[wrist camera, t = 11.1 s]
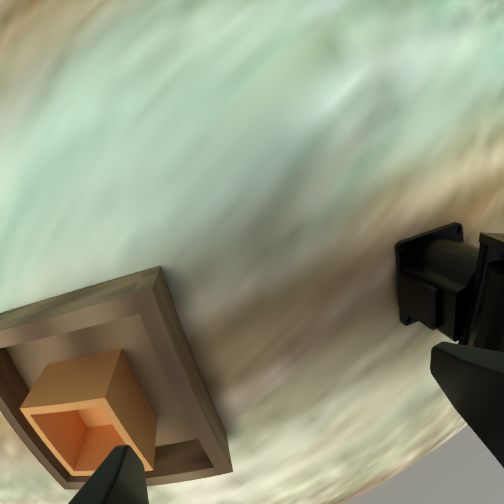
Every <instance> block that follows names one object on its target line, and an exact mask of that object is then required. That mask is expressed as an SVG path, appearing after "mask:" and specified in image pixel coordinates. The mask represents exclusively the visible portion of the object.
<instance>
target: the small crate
mask: <svg viewBox="0 0 504 504" xmlns="http://www.w3.org/2000/svg"><path fill="white" fill-rule="evenodd" d="M20 410H21V411H22V413H23V414H24V416H25V417H26V419H27V420H28V421H29V423H30V424H31V426H32V427H33V428H34V430H35V431H36V432H37V434H38V435H39V436H40V438H41V439H42V440H43V442H44V443H45V444H46V445H47V447H48V448H49V449H50V450H51V452H52V453H53V454H54V455H55V457H56V458H57V459H58V460H59V461H60V462H61V464H62V465H63V466H64V467H65V468H66V469H67V471H68V472H69V473H70V474H71V475H72V476H91V475H92V474H93V473H94V472H95V470H96V469H97V468H98V467H99V466H100V464H101V463H102V462H103V461H104V459H105V458H106V457H107V456H108V454H109V453H110V452H111V451H112V450H113V448H114V447H115V446H119V445H130V446H131V447H132V448H133V450H134V451H135V453H136V454H137V455H138V457H139V458H140V459H141V461H142V463H143V465H144V469H145V471H152V470H154V457H155V443H156V431H157V419H158V417H157V416H156V414H155V412H154V410H153V409H152V407H151V405H150V403H149V401H148V399H147V398H146V396H145V394H144V392H143V390H142V388H141V386H140V384H139V382H138V380H137V378H136V377H135V375H134V373H133V371H132V368H131V366H130V364H129V362H128V360H127V358H126V356H125V354H124V352H123V350H122V348H121V349H116V350H112V351H107V352H103V353H99V354H94V355H89V356H85V357H80V358H75V359H71V360H66V361H61V362H56V363H51V364H47V365H46V367H45V368H44V370H43V371H42V373H41V375H40V376H39V378H38V379H37V381H36V382H35V384H34V386H33V387H32V389H31V390H30V392H29V394H28V395H27V397H26V399H25V400H24V402H23V404H22V405H21V407H20Z"/></svg>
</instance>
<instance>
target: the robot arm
mask: <svg viewBox="0 0 504 504" xmlns="http://www.w3.org/2000/svg"><path fill="white" fill-rule="evenodd" d="M456 229H457V231H456ZM479 242H480V247H479V248H477V247H474V246H471V245H468V244H465V243H463V227H462V225H461V224H460V223H457V222H455V223H452V224H449V225H446V226H443V227H440V228H437V229H435V230H432V231H429V232H426V233H423V234H420V235H417V236H414V237H411V238H408V239H405V240H402V241H400V242H398V243H397V245H396V249H395V251H396V261H397V272H398V274H397V287H398V303H399V307H400V321H401V323H402V324H404V325H406V326H408V325H410V324H412V323H415V322H417V321H420V322H421V323H423V324H424V325H425V326H427V327H428V328H430V329H431V330H433V331H434V330H435V329H437V330H439V331H440V332H442V333H443V334H444V335H446V336H447V337H449V338H450V339H452V340H453V341H454V342H456V341H458V340H459V342H458V344H454V343H449V342H441V343H439V344H437V345H435V346H434V347H433V348H432V350H431V362H430V371H431V374H432V375H433V377H434V378H435V380H436V381H437V383H438V384H439V386H440V387H441V389H442V390H443V392H444V393H445V395H446V396H447V398H448V399H449V401H450V402H451V404H452V405H453V406H454V408H455V409H456V410H457V412H458V413H459V414H460V415H461V416H462V418H463V419H464V420H465V421H466V422H467V424H468V425H469V426H470V427H471V428H472V430H473V431H474V432H475V433H476V434H477V436H478V437H479V438H480V439H481V440H482V442H483V443H484V444H485V445H486V446H487V448H488V449H489V450H490V451H491V453H492V454H493V455H494V456H495V457H496V459H497V460H498V461H499V463H500V464H501V465H502V466H503V468H504V234H498V233H480V237H479ZM403 246H404V250H403V251H401V250H402V247H403ZM407 317H408V319H407V320H406V318H407ZM68 504H149V501H148V493H147V486H146V477H145V469H144V465H143V463H142V461H141V459H140V458H139V457H138V455H137V454H136V453H135V451H134V450H133V448H132V447H131V446H130V445H119V446H115V447H114V448H113V450H112V451H111V452H110V453H109V454H108V456H107V457H106V458H105V459H104V461H103V462H102V463H101V464H100V466H99V467H98V468H97V469H96V470H95V472H94V473H93V474H92V475H91V477H90V478H89V479H88V480H87V481H86V483H85V484H84V485H83V486H82V488H81V489H80V490H79V491H78V492H77V494H76V495H75V496H74V497H73V499H72V500H71V501H70V502H69V503H68Z"/></svg>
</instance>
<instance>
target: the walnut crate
mask: <svg viewBox="0 0 504 504" xmlns="http://www.w3.org/2000/svg"><path fill="white" fill-rule="evenodd" d="M121 348H122V350H123V352H124V354H125V356H126V358H127V360H128V362H129V364H130V366H131V368H132V371H133V373H134V375H135V377H136V378H137V380H138V382H139V384H140V386H141V388H142V390H143V392H144V394H145V396H146V398H147V399H148V401H149V403H150V405H151V407H152V409H153V410H154V412H155V414H156V416H157V417H158V419H157V431H156V443H155V457H154V470H152V471H145V477H146V486H153V485H162V484H169V483H176V482H183V481H189V480H195V479H201V478H206V477H211V476H216V475H221V474H226V473H230V472H233V469H232V464H231V458H230V452H229V447H228V441H227V435H226V432H225V430H224V428H223V426H222V423H221V421H220V419H219V417H218V415H217V412H216V410H215V408H214V405H213V403H212V401H211V399H210V396H209V394H208V392H207V389H206V387H205V385H204V382H203V380H202V377H201V375H200V372H199V370H198V368H197V365H196V363H195V360H194V358H193V355H192V353H191V350H190V347H189V345H188V342H187V340H186V337H185V334H184V332H183V329H182V326H181V324H180V321H179V318H178V316H177V313H176V310H175V307H174V305H173V302H172V299H171V296H170V293H169V290H168V287H167V284H166V281H165V279H164V276H163V273H162V270H161V267H160V266H158V267H154V268H151V269H147V270H144V271H140V272H137V273H134V274H130V275H127V276H123V277H120V278H116V279H113V280H110V281H106V282H103V283H99V284H96V285H93V286H89V287H86V288H82V289H79V290H76V291H72V292H69V293H66V294H62V295H59V296H56V297H52V298H49V299H46V300H42V301H39V302H36V303H32V304H29V305H26V306H22V307H19V308H16V309H12V310H9V311H6V312H3V313H0V411H1V413H2V414H3V415H4V417H5V418H6V420H7V421H8V422H9V424H10V425H11V427H12V428H13V429H14V431H15V432H16V433H17V435H18V436H19V437H20V439H21V440H22V441H23V442H24V444H25V445H26V446H27V447H28V449H29V450H30V451H31V452H32V454H33V455H34V456H35V457H36V458H37V460H38V461H39V462H40V463H41V464H42V465H43V466H44V468H45V469H46V470H47V471H48V472H49V473H50V474H51V475H52V476H53V477H54V479H55V480H56V481H57V482H58V483H59V484H60V485H61V486H62V487H63V488H64V489H78V490H80V489H81V488H82V486H83V485H84V484H85V483H86V481H87V480H88V479H89V478H90V477H91V476H72V475H71V474H70V473H69V472H68V471H67V469H66V468H65V467H64V466H63V465H62V464H61V462H60V461H59V460H58V459H57V458H56V457H55V455H54V454H53V453H52V452H51V450H50V449H49V448H48V447H47V445H46V444H45V443H44V442H43V440H42V439H41V438H40V436H39V435H38V434H37V432H36V431H35V430H34V428H33V427H32V426H31V424H30V423H29V421H28V420H27V419H26V417H25V416H24V414H23V413H22V411H21V410H20V407H21V405H22V404H23V402H24V400H25V399H26V397H27V395H28V394H29V392H30V390H31V389H32V387H33V386H34V384H35V382H36V381H37V379H38V378H39V376H40V375H41V373H42V371H43V370H44V368H45V367H46V365H47V364H51V363H56V362H61V361H66V360H71V359H75V358H80V357H85V356H89V355H94V354H99V353H103V352H107V351H112V350H116V349H121Z"/></svg>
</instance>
